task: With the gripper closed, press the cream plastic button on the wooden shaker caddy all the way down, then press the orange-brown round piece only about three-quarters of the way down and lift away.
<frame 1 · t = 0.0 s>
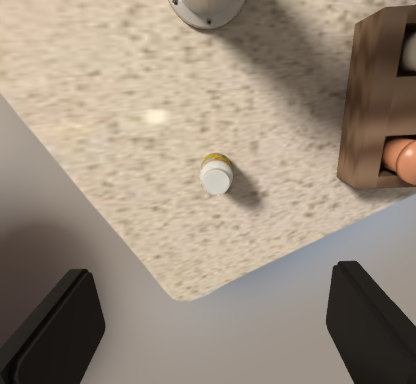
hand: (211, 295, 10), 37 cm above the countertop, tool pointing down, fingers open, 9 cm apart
orange-brown round piece: (409, 157, 36), point 8 cm above the countertop, slide at 0.0 cm
supplement bottle: (216, 166, 46), on the countertop
wooden shaker caddy: (382, 105, 41), on the countertop
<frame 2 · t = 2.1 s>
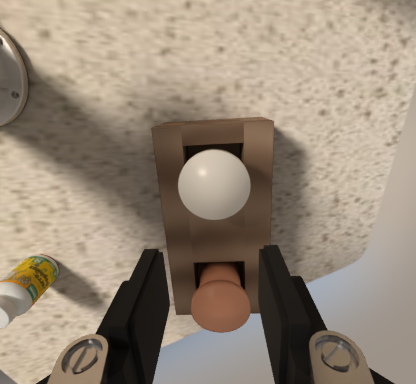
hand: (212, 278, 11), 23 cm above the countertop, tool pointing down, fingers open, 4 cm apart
orange-brown round piece: (220, 290, 29), point 8 cm above the countertop, slide at 0.0 cm
supplement bottle: (44, 266, 40), on the countertop
wooden shaker caddy: (217, 208, 35), on the countertop
cream button: (214, 177, 25), point 8 cm above the countertop, slide at 0.0 cm
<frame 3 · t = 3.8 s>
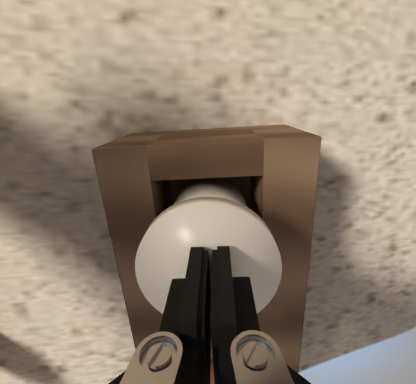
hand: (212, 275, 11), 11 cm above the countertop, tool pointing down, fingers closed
wooden shaker caddy: (215, 258, 24), on the countertop
cream button: (209, 237, 14), point 8 cm above the countertop, slide at 0.3 cm, touching gripper
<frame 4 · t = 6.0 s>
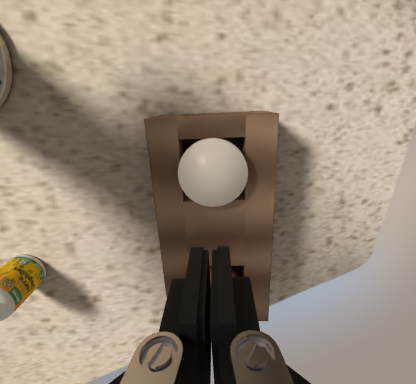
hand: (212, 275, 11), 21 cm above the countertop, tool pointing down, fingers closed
orange-brown round piece: (217, 296, 27), point 8 cm above the countertop, slide at 0.0 cm
supplement bottle: (30, 267, 37), on the countertop
wooden shaker caddy: (215, 208, 33), on the countertop
cream button: (213, 166, 25), point 5 cm above the countertop, slide at 3.0 cm
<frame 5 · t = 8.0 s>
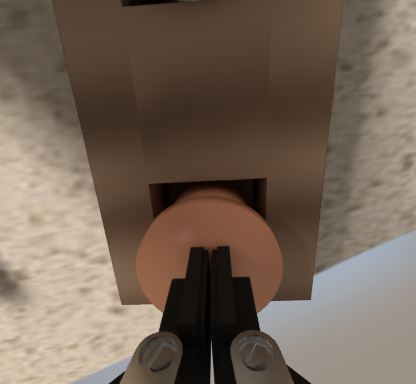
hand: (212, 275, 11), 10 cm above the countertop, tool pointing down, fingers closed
orange-brown round piece: (210, 236, 14), point 7 cm above the countertop, slide at 0.9 cm, touching gripper
wooden shaker caddy: (206, 101, 18), on the countertop
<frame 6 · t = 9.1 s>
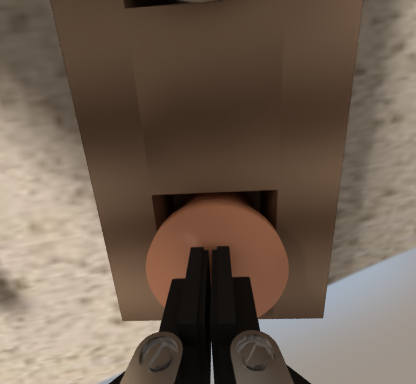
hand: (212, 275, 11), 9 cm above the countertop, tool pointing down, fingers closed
orange-brown round piece: (216, 239, 14), point 6 cm above the countertop, slide at 2.1 cm
wooden shaker caddy: (212, 106, 17), on the countertop
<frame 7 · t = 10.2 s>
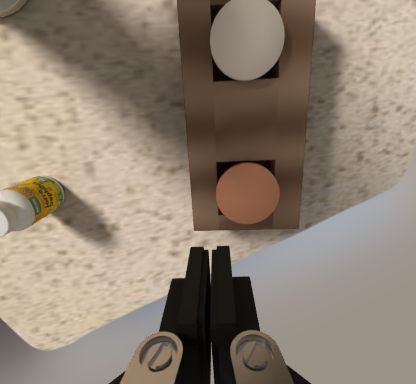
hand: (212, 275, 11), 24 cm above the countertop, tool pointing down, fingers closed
orange-brown round piece: (244, 186, 28), point 6 cm above the countertop, slide at 2.1 cm
supplement bottle: (49, 192, 36), on the countertop
wooden shaker caddy: (240, 119, 31), on the countertop
cream button: (243, 47, 24), point 5 cm above the countertop, slide at 3.0 cm
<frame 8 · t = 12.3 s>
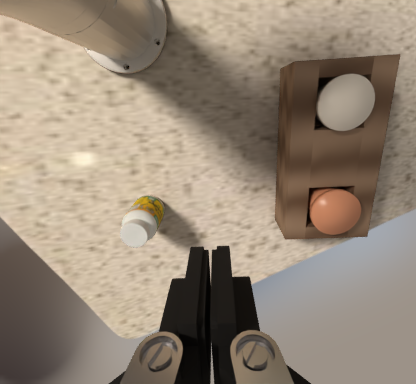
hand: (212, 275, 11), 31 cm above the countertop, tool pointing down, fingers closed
orange-brown round piece: (327, 205, 36), point 6 cm above the countertop, slide at 2.1 cm
supplement bottle: (150, 207, 44), on the countertop
wooden shaker caddy: (315, 149, 40), on the countertop
cream button: (335, 103, 32), point 5 cm above the countertop, slide at 3.0 cm
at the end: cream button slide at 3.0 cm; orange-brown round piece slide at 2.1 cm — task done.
